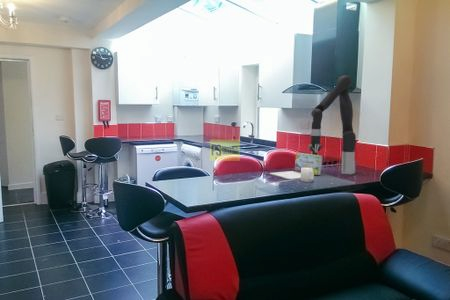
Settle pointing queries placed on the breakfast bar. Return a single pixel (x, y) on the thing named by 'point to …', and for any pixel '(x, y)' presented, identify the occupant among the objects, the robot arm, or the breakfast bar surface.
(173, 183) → the breakfast bar surface
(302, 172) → the mug
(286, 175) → the mat
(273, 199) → the breakfast bar surface
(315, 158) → the snack box
